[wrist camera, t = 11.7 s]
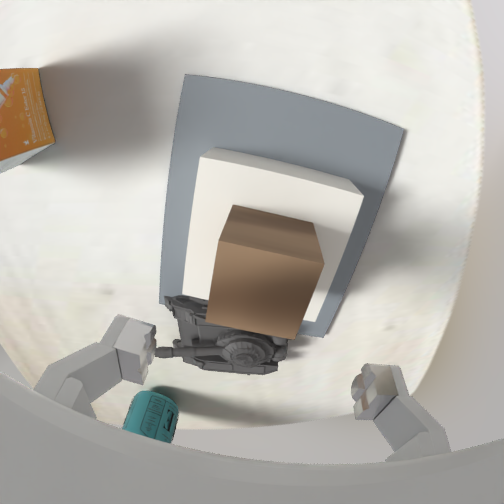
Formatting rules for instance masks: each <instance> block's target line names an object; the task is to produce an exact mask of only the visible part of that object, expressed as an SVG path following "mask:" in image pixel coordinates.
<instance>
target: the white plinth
mask: <svg viewBox="0 0 504 504" xmlns="http://www.w3.org/2000/svg"><path fill="white" fill-rule="evenodd" d="M363 198H364V195H363V194H362V193H361V192H360V191H359V190H358V189H357V188H356V186H355V185H354V184H353V183H352V182H351V181H350V180H349V179H346V178H342V177H339V176H335V175H332V174H328V173H324V172H321V171H317V170H313V169H310V168H306V167H302V166H298V165H294V164H290V163H286V162H282V161H277V160H273V159H269V158H264V157H260V156H255V155H251V154H246V153H241V152H236V151H231V150H226V149H221V148H215V147H213V148H211V149H210V150H209V151H207V152H206V153H204V154H203V155H202V156H200V159H199V166H198V172H197V178H196V185H195V191H194V198H193V205H192V213H191V220H190V228H189V236H188V244H187V252H186V261H185V271H184V280H183V291H182V294H184V295H188V296H192V297H196V298H200V299H205V300H209V294H210V287H211V281H212V275H213V269H214V263H215V257H216V251H217V246H218V240H219V238H220V235H221V233H222V230H223V228H224V225H225V223H226V220H227V218H228V215H229V213H230V210H231V208H232V205H238V206H242V207H247V208H252V209H256V210H260V211H265V212H269V213H274V214H278V215H282V216H287V217H291V218H295V219H299V220H304V221H308V222H312V223H313V224H314V227H315V231H316V234H317V238H318V241H319V245H320V249H321V252H322V256H323V260H324V263H325V264H324V267H323V270H322V272H321V275H320V278H319V280H318V283H317V286H316V288H315V291H314V293H313V296H312V298H311V301H310V303H309V306H308V308H307V311H306V313H305V316H304V318H303V320H307V321H312V322H315V321H316V318H317V316H318V314H319V312H320V309H321V307H322V305H323V302H324V300H325V298H326V295H327V293H328V291H329V288H330V286H331V283H332V281H333V278H334V276H335V273H336V271H337V268H338V266H339V263H340V261H341V258H342V256H343V253H344V250H345V248H346V245H347V243H348V240H349V237H350V235H351V232H352V229H353V226H354V224H355V221H356V218H357V215H358V212H359V209H360V207H361V204H362V201H363Z"/></svg>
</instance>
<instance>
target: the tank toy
mask: <svg viewBox="0 0 504 504" xmlns="http://www.w3.org/2000/svg"><path fill="white" fill-rule="evenodd" d="M164 300H165V306H166V307H167V308H168V309H169V311H170V312H171V311H172V312H173V316H174V318H176V319H177V321H178V326H179V332H180V337H181V340H177V339H175V340H174V341H173V346H174V348H172V347H158V348H156V351H155V357H159V358H173V357H183V362H186V363H189V364H192V365H195V366H198V367H199V368H200V369H202V370H208V371H218V372H229V373H237V374H247V375H250V374H258V375H265V374H268V373H272V372H275V371H278V370H277V369H278V362H279V361H282V360H285V358H286V354H287V346H288V344H287V341H288V339H287V338H282V337H276V336H271V335H266V334H260V333H255V332H250V331H245V330H241V329H236V328H231V327H226V326H222V325H217V324H213V323H208V322H205V319H206V313H207V306H208V300H205V299H200V298H196V297H192V296H184V295H178V296H174V297H170V296H164Z"/></svg>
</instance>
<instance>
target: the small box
mask: <svg viewBox="0 0 504 504" xmlns="http://www.w3.org/2000/svg"><path fill="white" fill-rule="evenodd" d="M54 143H55V139H54V136H53V133H52V130H51V126H50V123H49V119H48V115H47V111H46V107H45V103H44V98H43V93H42V88H41V83H40V77H39V70H38V68H10V69H0V173H2V172H5V171H7V170H9V169H12V168H14V167H16V166H18V165H20V164H21V163H23V162H24V161H26V160H27V159H29V158H30V157H32V156H34V155H35V154H37V153H39V152H40V151H42V150H44V149H45V148H47V147H49V146H50V145H52V144H54Z"/></svg>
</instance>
